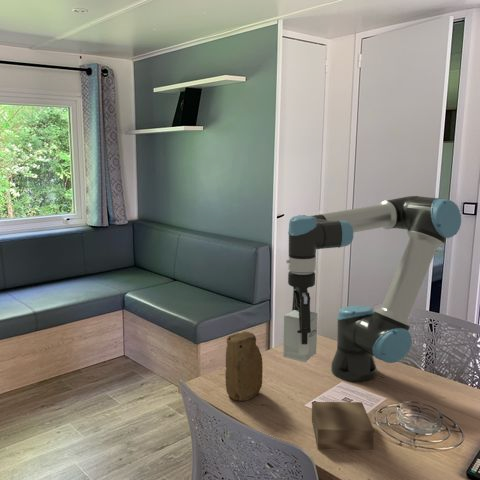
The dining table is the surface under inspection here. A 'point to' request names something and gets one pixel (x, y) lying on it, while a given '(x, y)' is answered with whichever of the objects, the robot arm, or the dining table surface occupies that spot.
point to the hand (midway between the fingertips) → (300, 346)
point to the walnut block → (342, 426)
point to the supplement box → (293, 337)
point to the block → (243, 366)
